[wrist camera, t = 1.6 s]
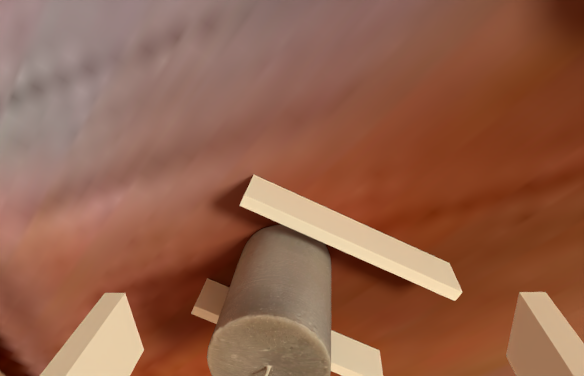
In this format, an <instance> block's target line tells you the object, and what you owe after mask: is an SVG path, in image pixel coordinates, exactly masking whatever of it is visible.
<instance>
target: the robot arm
mask: <svg viewBox="0 0 584 376" xmlns="http://www.w3.org/2000/svg"><path fill="white" fill-rule="evenodd" d="M143 351H144V349H143V346H142V342H141V339H140V336H139V333H138V330H137V327H136V324H135V321H134V318H133V315H132V312H131V309H130V306H129V303H128V300H127V297H126V294H125V293H104V295H103V296H102V297H101V298H100V300H99V301H98V302H97V304H96V305H95V306H94V307H93V309H92V310H91V311H90V312H89V314H88V315H87V316H86V318H85V319H84V320H83V321H82V323H81V324H80V325H79V326H78V328H77V329H76V330H75V331H74V333H73V334H72V335H71V337H70V338H69V339H68V340H67V342H66V343H65V344H64V345H63V347H62V348H61V349H60V351H59V352H58V353H57V354H56V356H55V357H54V358H53V359H52V361H51V362H50V363H49V364H48V366H47V367H46V368H45V370H44V371H43V372H42V373H41V375H40V376H130V374H131V373H132V371H133V369H134V367H135V365H136V363H137V362H138V360H139V358H140V356H141V354H142V352H143ZM506 356H507V358H508V361H509V363H510V365H511V367H512V369H513V371H514V373H515V375H516V376H584V343H583V342H582V341H581V339H580V338H579V337H578V335H577V334H576V333H575V331H574V330H573V329H572V327H571V326H570V324H569V323H568V322H567V320H566V319H565V318H564V316H563V315H562V314H561V312H560V311H559V310H558V308H557V307H556V306H555V304H554V303H553V302H552V300H551V299H550V297H549V296H548V295H547V293H546V292H519V296H518V301H517V306H516V311H515V315H514V320H513V325H512V330H511V335H510V340H509V344H508V349H507V354H506Z"/></svg>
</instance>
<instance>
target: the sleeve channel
mask: <svg viewBox="0 0 584 376" xmlns="http://www.w3.org/2000/svg"><path fill="white" fill-rule="evenodd" d="M239 206H242V207H244V208H246V209H248V210H251V211H253V212H255V213H257V214H260V215H262V216H264V217H266V218H269V219H271V220H273V221H275V222H278V223H280V224H282V225H284V226H287V227H289V228H291V229H293V230H296V231H298V232H300V233H302V234H305V235H307V236H309V237H312V238H314V239H316V240H318V241H321V242H323V243H325V244H327V245H330V246H332V247H334V248H336V249H339V250H341V251H343V252H345V253H348V254H350V255H352V256H354V257H357V258H359V259H361V260H363V261H366V262H368V263H370V264H372V265H375V266H377V267H379V268H381V269H384V270H386V271H388V272H390V273H393V274H395V275H397V276H400V277H402V278H404V279H406V280H409V281H411V282H413V283H415V284H418V285H420V286H422V287H424V288H427V289H429V290H431V291H433V292H436V293H438V294H440V295H442V296H445V297H447V298H449V299H451V300H454V301H455V300H456V299H457V298H458V297H459V296H460V295H461V293H462V290H461V288H460V285H459V283H458V281H457V279H456V277H455V274H454V272H453V270H452V268H451V266H450V263H448V262H446V261H443V260H441V259H439V258H437V257H435V256H432V255H430V254H428V253H426V252H423V251H421V250H419V249H417V248H415V247H412V246H410V245H408V244H406V243H404V242H401V241H399V240H397V239H395V238H393V237H390V236H388V235H386V234H384V233H382V232H379V231H377V230H375V229H373V228H371V227H368V226H366V225H364V224H362V223H359V222H357V221H355V220H353V219H351V218H348V217H346V216H344V215H342V214H340V213H337V212H335V211H333V210H331V209H329V208H326V207H324V206H322V205H320V204H318V203H315V202H313V201H311V200H309V199H307V198H304V197H302V196H300V195H298V194H296V193H293V192H291V191H289V190H287V189H284V188H282V187H280V186H278V185H276V184H273V183H271V182H269V181H267V180H265V179H262V178H260V177H258V176H256V175H253V177H252V179H251V182H250V184H249V186H248V188H247V190H246V192H245V194H244V196H243V199H242V201H241V203H240V205H239ZM229 288H230V287H227V286H225V285H222V284H220V283H218V282H215V281H213V280H210V279H208V278H207V280H206V282H205V284H204V286H203V288H202V291H201V293H200V295H199V297H198V299H197V301H196V303H195V306H194V308H193V310H192V312H191V314H193V315H195V316H198V317H200V318H203V319H205V320H208V321H210V322H213V323H215V324H217V322H218V318H219V315H220V313H221V310H222V307H223V305H224V302H225V299H226V297H227V294H228V291H229ZM331 371H332V372H335V373H337V374H340V375H342V376H383V372H382V364H381V357H380V351H379V350H377V349H375V348H372V347H370V346H368V345H365V344H363V343H360V342H358V341H356V340H353V339H351V338H348V337H346V336H344V335H341V334H339V333H337V332H334V331H332V330H331Z"/></svg>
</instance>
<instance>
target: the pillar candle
mask: <svg viewBox="0 0 584 376" xmlns="http://www.w3.org/2000/svg"><path fill="white" fill-rule="evenodd" d="M207 361H208V366H209V369H210V372H211V374H212V376H330V372H331V259H330V254H329V251H328V249H327V247H326V245H325V244H324V243H323V242H321V241H318V240H316V239H314V238H312V237H309V236H307V235H305V234H302V233H300V232H298V231H296V230H293V229H291V228H289V227H287V226H284V225H274V226H270V227H266V228H263V229H261V230H259V231H258V232H256V233H255V234H254V235H252V236H251V238H250V239H249V241H248V242H247V243H246V245H245V247H244V249H243V252H242V254H241V257H240V259H239V262H238V265H237V268H236V270H235V273H234V276H233V279H232V282H231V285H230V288H229V291H228V294H227V297H226V299H225V302H224V305H223V307H222V310H221V313H220V315H219V318H218V322H217V324H216V327H215V329H214V332H213V335H212V338H211V340H210V343H209V346H208V353H207Z"/></svg>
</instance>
